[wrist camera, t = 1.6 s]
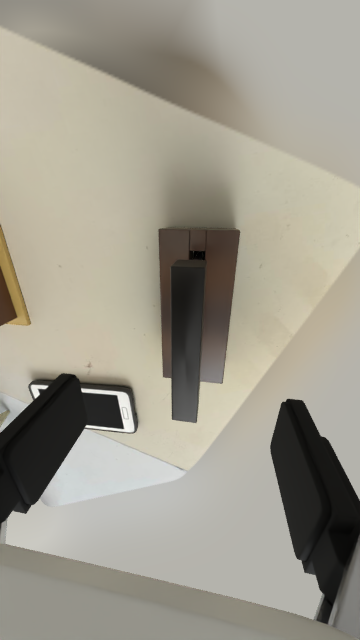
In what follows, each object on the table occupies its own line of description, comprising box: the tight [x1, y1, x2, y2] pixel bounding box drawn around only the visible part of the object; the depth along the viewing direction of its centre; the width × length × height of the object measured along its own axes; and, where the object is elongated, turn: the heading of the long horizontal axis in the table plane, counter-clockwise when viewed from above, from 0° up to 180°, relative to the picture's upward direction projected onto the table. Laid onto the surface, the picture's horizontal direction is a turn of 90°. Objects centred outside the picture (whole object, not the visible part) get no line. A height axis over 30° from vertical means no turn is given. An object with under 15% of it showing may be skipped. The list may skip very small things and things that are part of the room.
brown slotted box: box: [159, 227, 240, 384], centre depth 20 cm, size 14×6×4 cm, turn 179°
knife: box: [170, 252, 207, 423], centre depth 18 cm, size 11×2×10 cm, turn 179°
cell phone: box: [28, 380, 138, 433], centre depth 30 cm, size 8×15×1 cm, turn 92°
